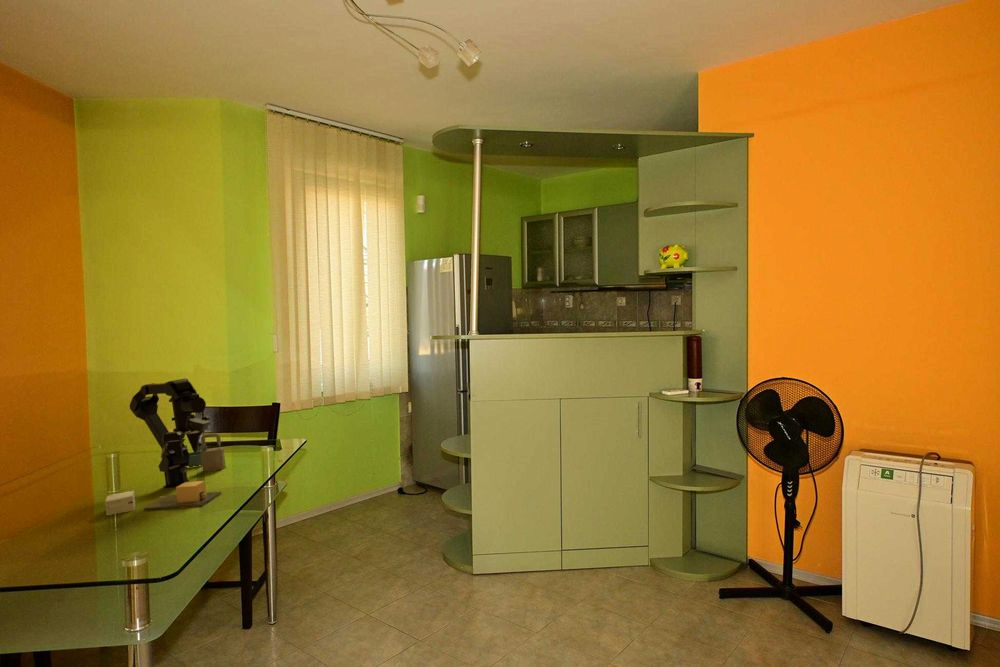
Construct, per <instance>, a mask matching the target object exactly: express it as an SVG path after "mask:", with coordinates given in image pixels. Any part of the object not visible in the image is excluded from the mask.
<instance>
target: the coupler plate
mask: <svg viewBox="0 0 1000 667" xmlns="http://www.w3.org/2000/svg"><path fill="white" fill-rule="evenodd" d="M220 494H221V495H222V491H213V492H206V493H199V496H200V500H199V501H191V502H177V494H174V495H161V496H159V497H158V499H157V500H156V501H154V502H152V503H150V504H149V505H147V506H144V507H143V511H147V512H148V511H159V509H160V510H169V509H168V508H173V509H179V508H178V507H186V508H191V507H190V506H199V507H204V506H205V505H206V503H207V504H208V503H210V502H212V501H213V500H214V499H216V498H217V497H219V496H221V495H220ZM215 497H216V498H215ZM212 499H213V500H212ZM209 501H210V502H209ZM203 505H204V506H203Z"/></svg>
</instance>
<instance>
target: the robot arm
mask: <svg viewBox="0 0 1000 667" xmlns="http://www.w3.org/2000/svg"><path fill="white" fill-rule="evenodd" d="M160 394H161V395H163V394H165V395H166V396H169V397H170V398H169V400H168V403H171V406H172V411H173V417H171V421H174V426H175V428H173V429H172V431H169V430H168V428H167V427H166V425H165V423H164V422H163V420H162V419H161V417H160V416H159V414H158V408H159V405H158V402H159V400H160V397H159V396H158V395H160ZM150 395H151V396H150ZM206 405H207V404H206V401H205V399H204V398H203V397H201V396H200V393H198V392H197V389H195V387H194V386H193V384H192V383H191V381H189V379H188V378H181V379H180V378H179V379H175V380H168V381H167V382H166V381H165V383H164V382H162V383H155V382H154V383H148V384H143V385H141V386H140V389H139V391H138V392H137V393H136V394H134V395H133V396H132V398H131V401H130V402H129V409H130V411H131V412H132V414H134V416H135V417H136V418H137V419H140V420H142V421H144V423H145V424H146V426H147V428H148V429H149V431H150V433H151V435H153V437H154V439H155V440H156V442H157V444H158V445H159V447H160V449H161V454H160V458H161V460H160V462H159V464H158V470H159V472H160V473H161V472H162V473H163V474H164V482H165V484H164V485H163V488H176V487H177V486H179V485H181V484H183V483H185V482H190V479H188V473H187V470H186V467H185V466H188V465H189V457H190V454H189V453H190V452H189V451H187V449H188V447H187V448H186V447H185V445H186V444H185V440H186V438H185V436H186V437H187V440H188V442H189V444H190V447H191V449H192V452H197V451H198V448H199V444H200V440H201V437H202V436H203V435H204V433H206V432H205V431H207V430H209V426H210V425H211V424H212V423H211V419H210V417H209V416H207V415H205V416H202V417H200V418H199V417H198V418H196V415H195V414H200V413H202V412H204V410H205V409H206V408H207V407H206Z"/></svg>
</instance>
